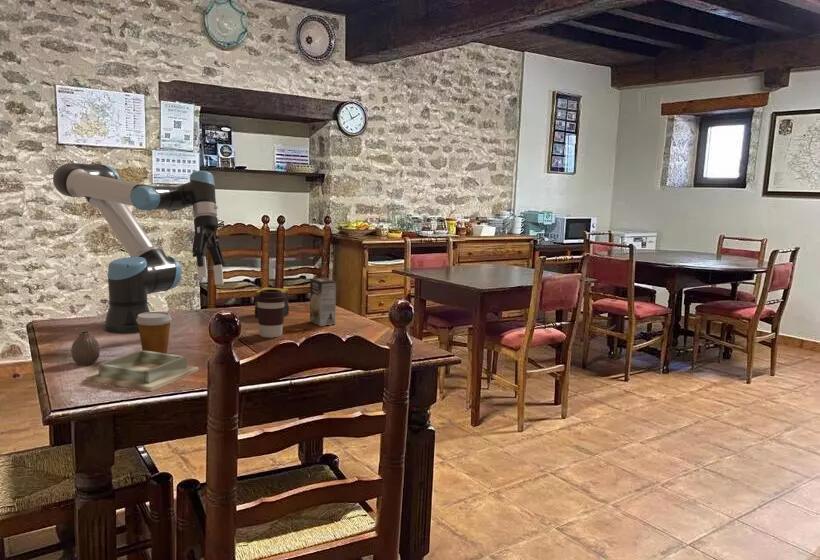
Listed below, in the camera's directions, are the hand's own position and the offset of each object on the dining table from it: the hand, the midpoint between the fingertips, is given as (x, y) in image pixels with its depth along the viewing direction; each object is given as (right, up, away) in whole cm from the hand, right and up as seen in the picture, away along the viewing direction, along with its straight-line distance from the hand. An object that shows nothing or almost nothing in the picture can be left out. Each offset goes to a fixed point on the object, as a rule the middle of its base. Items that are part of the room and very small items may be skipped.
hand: (211, 281), depth 204 cm
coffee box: (+32, -16, +26) cm, 44 cm away
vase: (-24, -23, -31) cm, 46 cm away
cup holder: (-5, -24, -40) cm, 47 cm away
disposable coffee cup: (-9, -22, -22) cm, 32 cm away
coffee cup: (+18, -18, +6) cm, 26 cm away
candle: (+12, -13, +35) cm, 39 cm away
